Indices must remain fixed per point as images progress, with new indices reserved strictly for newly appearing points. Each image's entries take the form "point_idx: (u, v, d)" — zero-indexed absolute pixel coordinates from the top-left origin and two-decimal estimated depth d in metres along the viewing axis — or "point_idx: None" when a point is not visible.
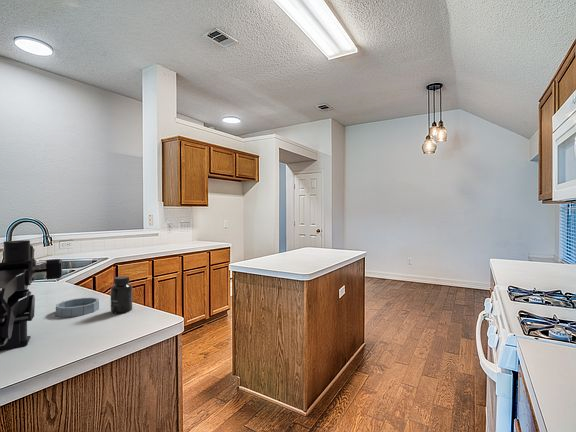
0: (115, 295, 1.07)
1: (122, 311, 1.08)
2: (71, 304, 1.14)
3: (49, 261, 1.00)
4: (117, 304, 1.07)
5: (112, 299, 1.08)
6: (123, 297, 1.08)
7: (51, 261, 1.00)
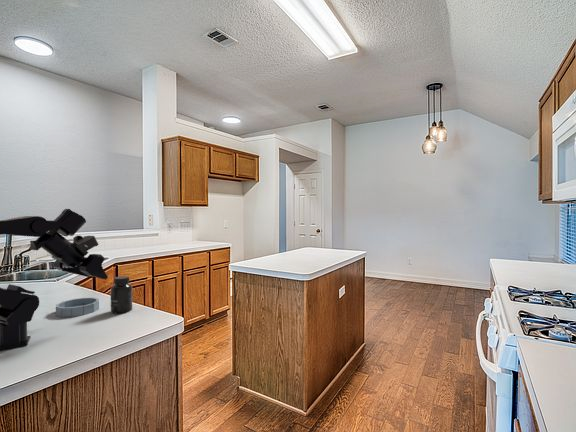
0: (115, 295, 1.07)
1: (122, 311, 1.08)
2: (71, 304, 1.14)
3: (94, 254, 0.96)
4: (117, 304, 1.07)
5: (112, 299, 1.08)
6: (123, 297, 1.08)
7: (94, 254, 0.96)
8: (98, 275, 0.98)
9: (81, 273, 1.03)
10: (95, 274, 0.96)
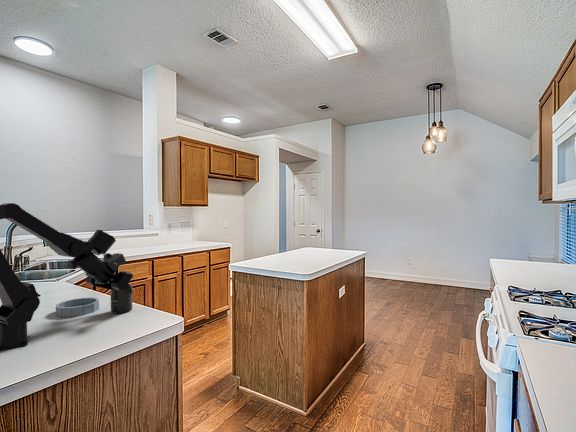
0: (115, 295, 1.07)
1: (122, 311, 1.08)
2: (71, 304, 1.14)
3: (123, 271, 1.04)
4: (117, 303, 1.07)
5: (112, 299, 1.08)
6: (123, 297, 1.08)
7: (124, 271, 1.04)
8: (124, 290, 1.06)
9: None
10: (122, 289, 1.05)
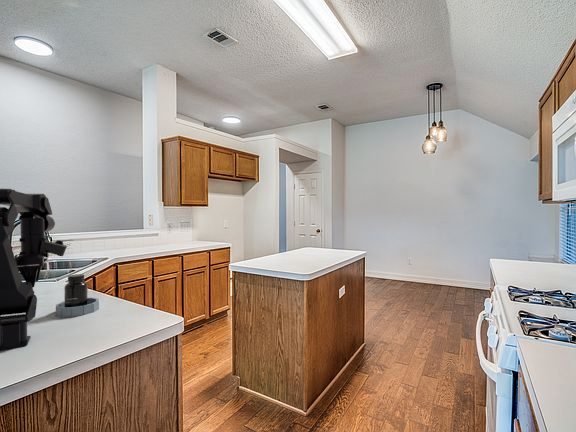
0: (74, 292, 1.08)
1: None
2: None
3: (42, 255, 0.92)
4: (77, 301, 1.08)
5: (70, 297, 1.07)
6: (82, 294, 1.09)
7: (41, 255, 0.92)
8: (25, 276, 0.91)
9: None
10: (23, 272, 0.90)
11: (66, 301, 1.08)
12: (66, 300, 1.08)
